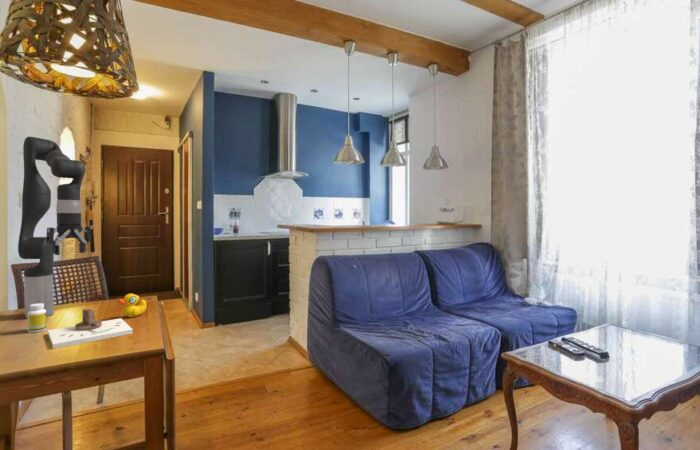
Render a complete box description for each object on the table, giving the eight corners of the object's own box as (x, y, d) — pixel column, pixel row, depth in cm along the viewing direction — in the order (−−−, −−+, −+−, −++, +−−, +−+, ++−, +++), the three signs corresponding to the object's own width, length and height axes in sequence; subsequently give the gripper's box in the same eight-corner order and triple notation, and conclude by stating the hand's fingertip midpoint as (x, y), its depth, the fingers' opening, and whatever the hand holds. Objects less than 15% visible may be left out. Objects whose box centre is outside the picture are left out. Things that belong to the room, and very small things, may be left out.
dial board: (47, 334, 134) (47, 329, 134) (121, 321, 150) (121, 317, 150) (53, 348, 121) (53, 343, 121) (132, 333, 137) (132, 328, 137)
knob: (71, 327, 137) (71, 310, 137) (95, 322, 144) (95, 306, 144) (86, 333, 131) (85, 316, 130) (110, 328, 137) (110, 311, 137)
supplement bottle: (48, 330, 139) (48, 304, 138) (30, 333, 134) (29, 307, 134) (43, 327, 142) (43, 301, 142) (25, 330, 137) (25, 304, 137)
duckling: (122, 321, 151) (121, 297, 150) (115, 319, 154) (114, 295, 153) (149, 314, 161) (149, 291, 160) (142, 312, 163) (142, 290, 163)
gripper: (52, 212, 134) (53, 256, 135) (94, 212, 147) (95, 252, 148) (41, 211, 138) (42, 255, 138) (83, 211, 150) (84, 251, 151)
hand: (69, 253), depth 143 cm, fingers open, 8 cm apart
